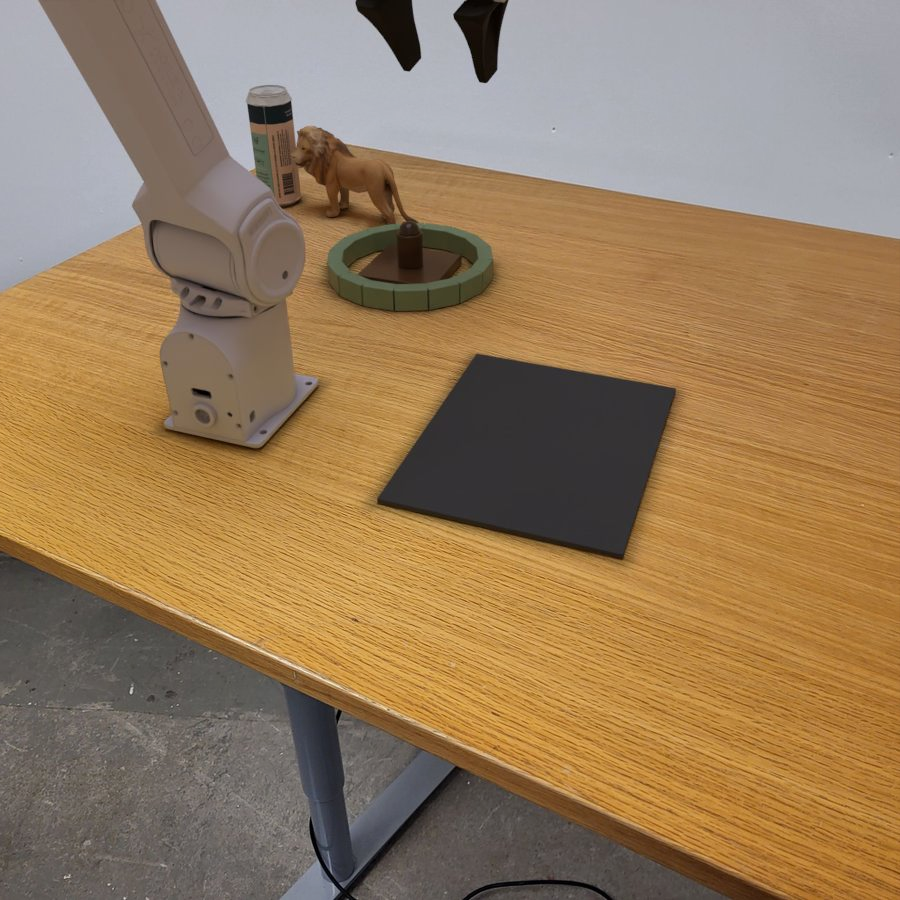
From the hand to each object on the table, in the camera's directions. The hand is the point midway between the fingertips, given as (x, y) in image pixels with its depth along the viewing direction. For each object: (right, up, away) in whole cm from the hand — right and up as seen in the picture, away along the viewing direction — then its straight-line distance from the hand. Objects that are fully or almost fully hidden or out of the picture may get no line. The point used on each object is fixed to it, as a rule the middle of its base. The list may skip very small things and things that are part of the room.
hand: (449, 70), depth 79 cm
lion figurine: (-10, -7, +21) cm, 25 cm away
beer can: (-19, -4, +25) cm, 32 cm away
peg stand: (-4, -15, +9) cm, 19 cm away
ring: (-4, -15, +9) cm, 19 cm away
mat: (+6, -32, -13) cm, 35 cm away
